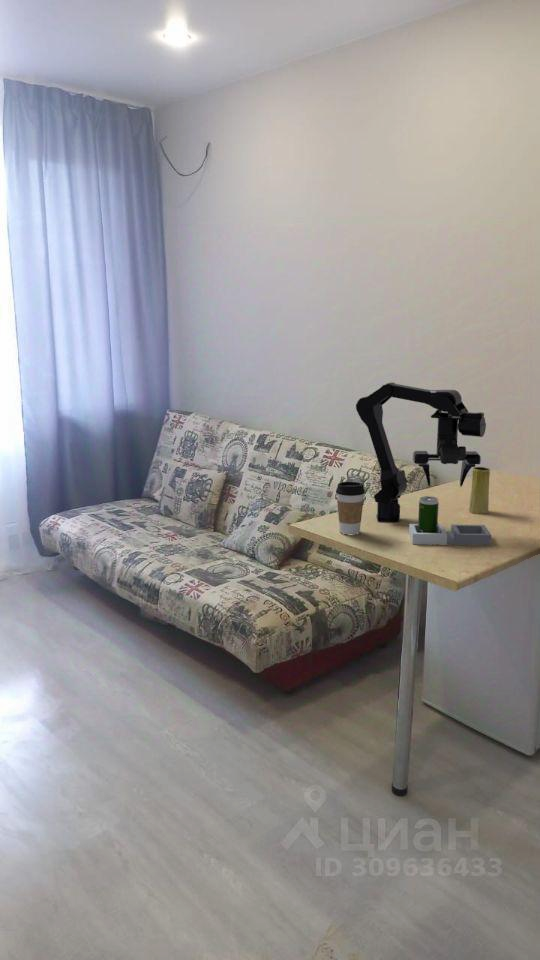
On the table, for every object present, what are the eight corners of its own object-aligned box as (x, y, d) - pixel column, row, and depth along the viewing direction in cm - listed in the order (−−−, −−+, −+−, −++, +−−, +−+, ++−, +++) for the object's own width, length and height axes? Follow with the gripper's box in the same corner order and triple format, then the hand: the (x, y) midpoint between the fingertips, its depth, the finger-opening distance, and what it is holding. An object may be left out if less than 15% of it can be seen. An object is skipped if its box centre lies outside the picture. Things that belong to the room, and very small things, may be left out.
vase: (473, 507, 230) (476, 465, 227) (491, 511, 226) (494, 468, 223) (465, 512, 226) (468, 469, 222) (484, 515, 222) (486, 471, 218)
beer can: (427, 543, 196) (429, 502, 193) (413, 538, 201) (415, 498, 198) (440, 539, 199) (442, 499, 196) (426, 534, 203) (428, 495, 201)
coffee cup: (341, 538, 202) (342, 487, 198) (331, 529, 210) (331, 481, 206) (368, 535, 204) (369, 485, 200) (357, 527, 212) (358, 478, 208)
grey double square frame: (412, 544, 196) (412, 533, 195) (409, 533, 205) (409, 523, 204) (490, 545, 194) (491, 535, 193) (483, 534, 203) (484, 525, 202)
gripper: (417, 438, 196) (415, 492, 200) (485, 439, 194) (482, 493, 198) (413, 432, 207) (411, 483, 211) (478, 432, 205) (475, 483, 209)
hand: (444, 486), depth 207 cm, fingers open, 9 cm apart
